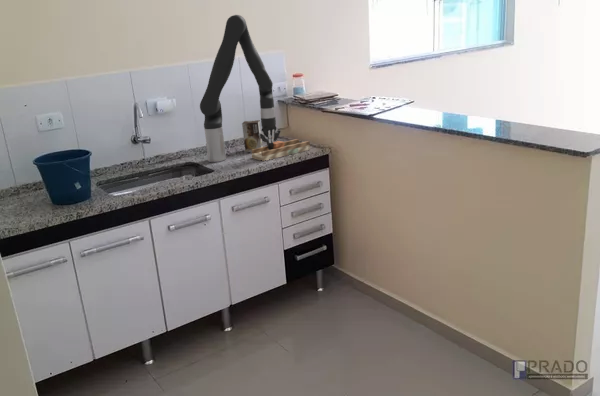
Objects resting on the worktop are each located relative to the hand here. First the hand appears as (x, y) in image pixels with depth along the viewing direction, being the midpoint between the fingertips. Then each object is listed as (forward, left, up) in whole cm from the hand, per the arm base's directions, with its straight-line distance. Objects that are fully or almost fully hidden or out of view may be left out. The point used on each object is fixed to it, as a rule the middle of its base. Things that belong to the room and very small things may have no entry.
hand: (270, 149), depth 287 cm
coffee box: (-8, +19, -4) cm, 21 cm away
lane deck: (+6, +4, -4) cm, 8 cm away
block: (+4, +3, -1) cm, 5 cm away
